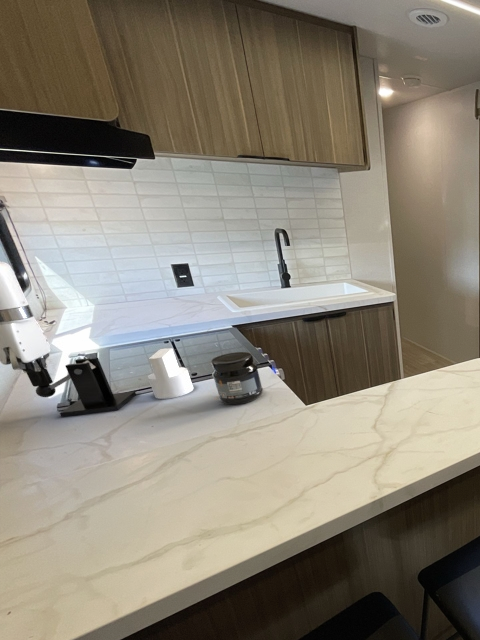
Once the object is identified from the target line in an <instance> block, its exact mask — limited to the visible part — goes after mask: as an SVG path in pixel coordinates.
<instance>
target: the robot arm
mask: <svg viewBox="0 0 480 640" xmlns="http://www.w3.org/2000/svg"><path fill="white" fill-rule="evenodd" d="M51 350H52V348H51V345H50V341H49V340H48V338H47V335H46V334H45V332H44V331H43V329H42V327H41V325H40V324H39V323H38V321H37V320H36V317H35V315H34V312H33V311H32V308H31V307H30V304H29V302H28V300H27V298H26V295H25V293H24V292H23V289H22V288H21V285H20V282H19V281H18V278H17V276H16V274H15V272H14V270H13V268H12V266H11V265H10V264H9V263H7V262H5V261H0V363H1V364H2V365H4V366H8V365H11V367H12V370H13V371H19V370H21V371H22V372H23V373H24V374H26V375H27V377H28V379H29V381H30V384H31V385H32V386H33V387H34V388H35V387H36V388H37V387H38V386H46V385H52V384H54V381H53V379H52V377H51V375H50V373H49V371H48V364H47V359H48V358H49V357H50V353H51Z"/></svg>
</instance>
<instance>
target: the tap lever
mask: <svg viewBox="0 0 480 640" xmlns="http://www.w3.org/2000/svg"><path fill="white" fill-rule="evenodd" d="M88 362H89V361H88V360H87V361H85V362H83V363H88ZM89 364H90V366H91V369H94V368H95V366H94V365H93V364H92V363H91V362H89ZM70 380H71V377H70V375H69V374H67V375H65V376H64V377H62V378H60V379H59V380H57V381H56V382H53V383H51V384H49V385H46V386H36V388H35V393H36V395H37V396H39V397H41V398H50V397H52V396H54V395H55V394H56V388H57V387H59V386H61V385H62V384H64V383H66V382H68V381H70Z"/></svg>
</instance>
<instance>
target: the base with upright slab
mask: <svg viewBox="0 0 480 640" xmlns="http://www.w3.org/2000/svg"><path fill="white" fill-rule="evenodd" d="M148 361H149V364H150V366H151V369H152V373H150V374H149V375H147V379H148V382H149V384H150V387H151V390H152V392H153V395H154V397H155V398H156V399H159V400H166V399H174V398H178V397H181V396H185V395H187V394H189V393H191V392H192V391H193V390H194V385H193V382H192V379H191V377H190V373H189V370H188V368H187V367H182V366H181V367H180V366H179V364H178V361H177V357H176V355H175V352H174V348H173V347H169V348H160V349H159V350H157V351H156V352H155V353H153V354H152V355H151V356H150V357H148Z"/></svg>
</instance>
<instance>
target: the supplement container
mask: <svg viewBox="0 0 480 640" xmlns="http://www.w3.org/2000/svg"><path fill="white" fill-rule="evenodd" d="M210 364H211V366H212V369H213V370H212V372H211V376H212V378H213V380H214V383H215V386H216V390H217V394H218V397H219V398H218V399H219V400H220V401H221V402H222V403H223V404H226V405H231V406H232V405H241V404H246V403H249V402H253V401H255V400H257V399H258V398H260V397H261V396H262V395H263V392H264V388H263V386H262V385H263V384H262V382H261V378H260V373H259V370H258V365H257V364H256V363H255V362H254V357H253V354H252V353H250V352H247V351H237V352H230V353H225V354H221V355H218V356H216V357H214V358H212V359H211V360H210Z"/></svg>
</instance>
